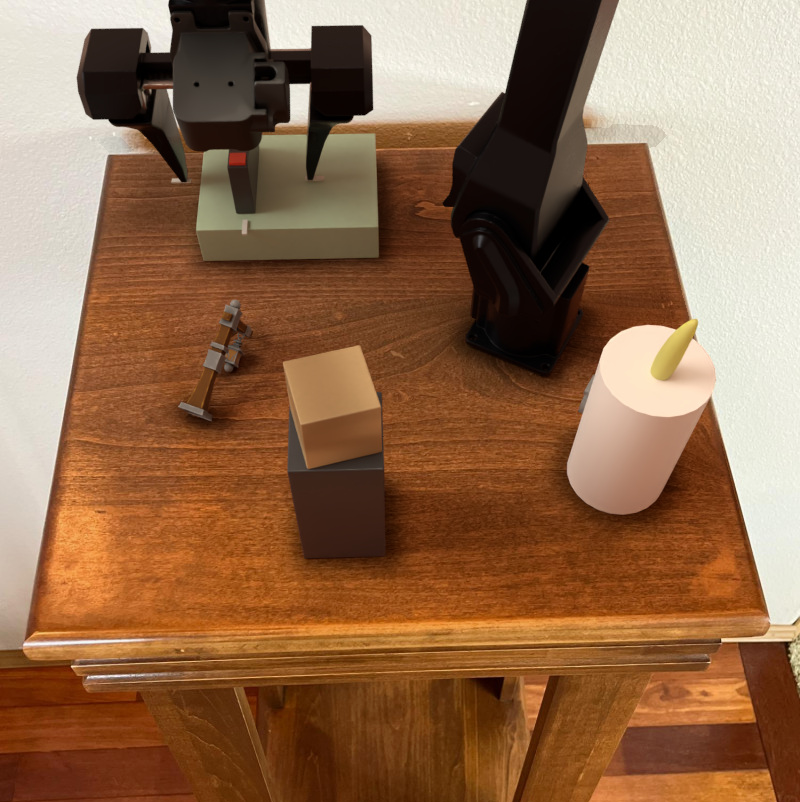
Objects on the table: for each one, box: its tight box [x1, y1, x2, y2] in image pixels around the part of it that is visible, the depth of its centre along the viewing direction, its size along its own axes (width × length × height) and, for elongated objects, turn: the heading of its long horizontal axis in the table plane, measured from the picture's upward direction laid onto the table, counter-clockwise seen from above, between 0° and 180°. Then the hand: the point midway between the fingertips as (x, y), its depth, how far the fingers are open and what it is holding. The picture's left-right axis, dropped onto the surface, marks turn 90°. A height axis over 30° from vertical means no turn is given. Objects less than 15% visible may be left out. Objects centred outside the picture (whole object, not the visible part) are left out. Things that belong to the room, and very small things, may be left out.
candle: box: [566, 318, 717, 516], centre depth 52 cm, size 6×6×15 cm
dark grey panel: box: [227, 145, 260, 214], centre depth 65 cm, size 7×1×4 cm, turn 2°
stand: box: [286, 391, 386, 559], centre depth 52 cm, size 5×5×10 cm
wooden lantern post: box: [177, 299, 254, 422], centre depth 60 cm, size 2×8×4 cm, turn 158°
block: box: [282, 345, 382, 469], centre depth 46 cm, size 4×4×4 cm
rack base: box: [170, 133, 380, 262], centre depth 68 cm, size 15×11×3 cm
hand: (247, 177), depth 66 cm, fingers open, 9 cm apart
